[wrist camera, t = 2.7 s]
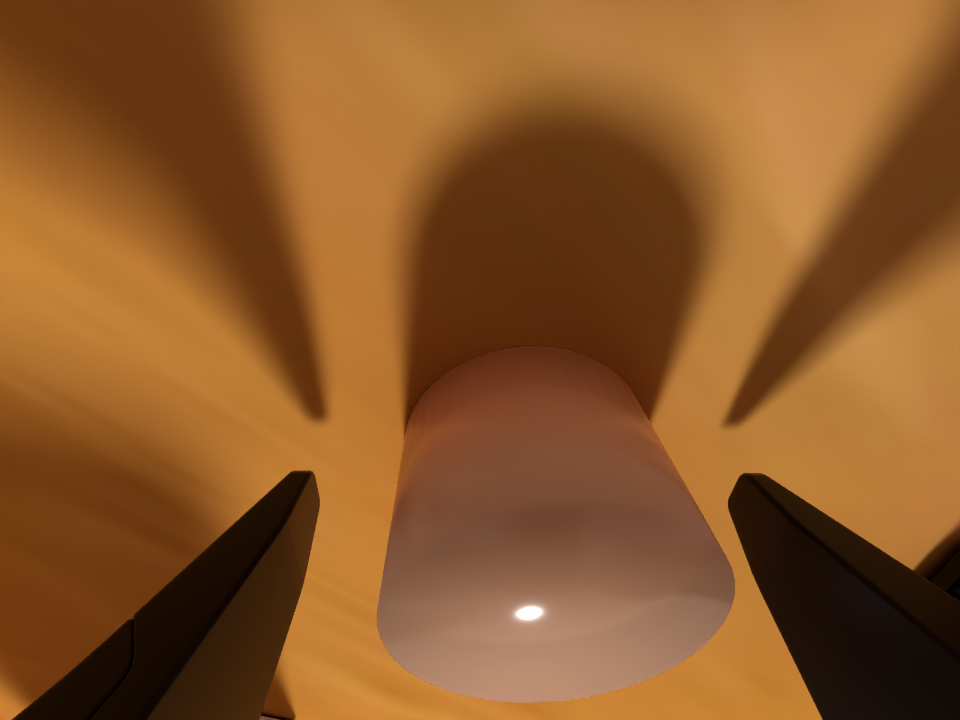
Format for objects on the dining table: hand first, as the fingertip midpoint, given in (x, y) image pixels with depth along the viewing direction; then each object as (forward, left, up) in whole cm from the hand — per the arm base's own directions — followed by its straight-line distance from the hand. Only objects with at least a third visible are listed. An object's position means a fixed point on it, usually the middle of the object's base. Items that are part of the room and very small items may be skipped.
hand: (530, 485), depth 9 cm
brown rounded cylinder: (0, 0, -1) cm, 1 cm away
